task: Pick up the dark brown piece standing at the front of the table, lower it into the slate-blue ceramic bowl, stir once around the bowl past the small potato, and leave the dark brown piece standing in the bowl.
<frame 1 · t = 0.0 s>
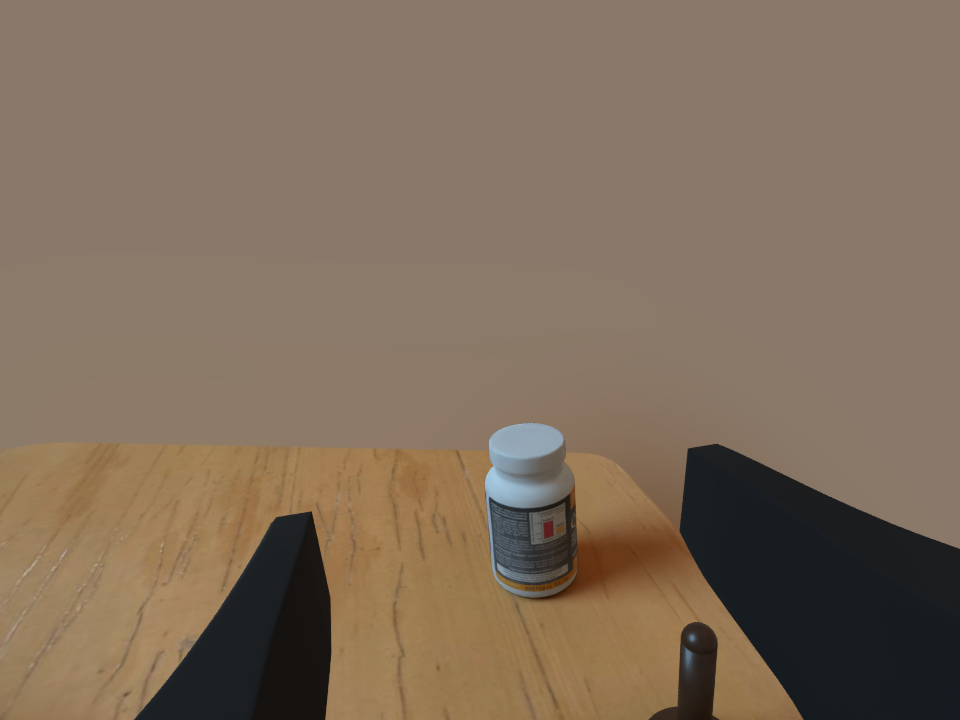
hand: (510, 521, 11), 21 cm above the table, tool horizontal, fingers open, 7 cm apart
pill bottle: (534, 574, 41), on the table
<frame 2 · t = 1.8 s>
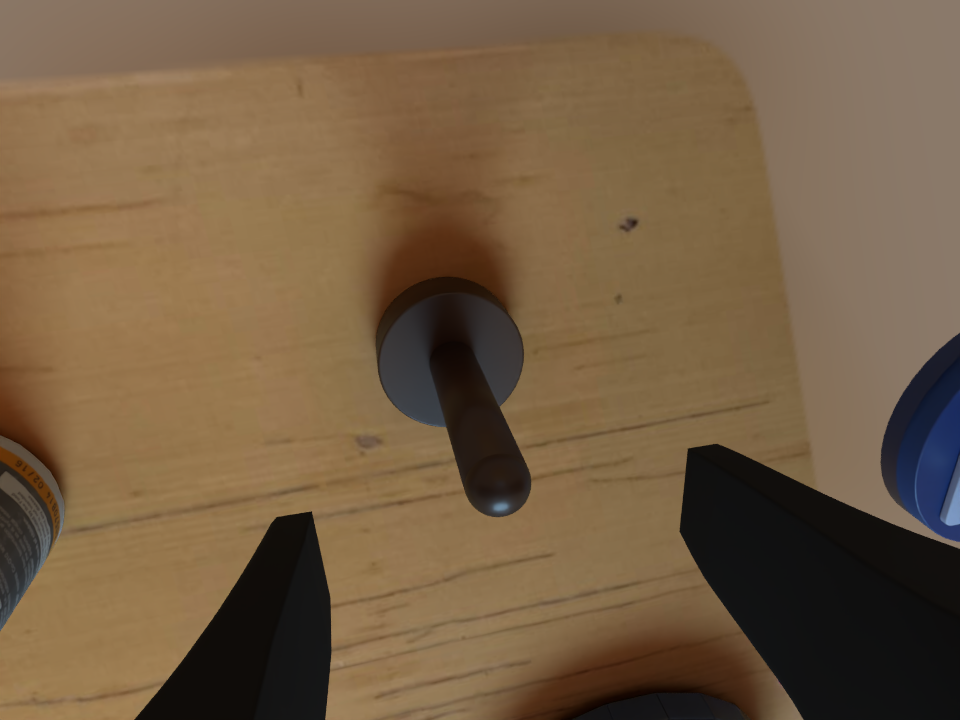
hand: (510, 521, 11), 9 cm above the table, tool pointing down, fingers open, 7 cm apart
dark brown piece: (445, 343, 20), on the table
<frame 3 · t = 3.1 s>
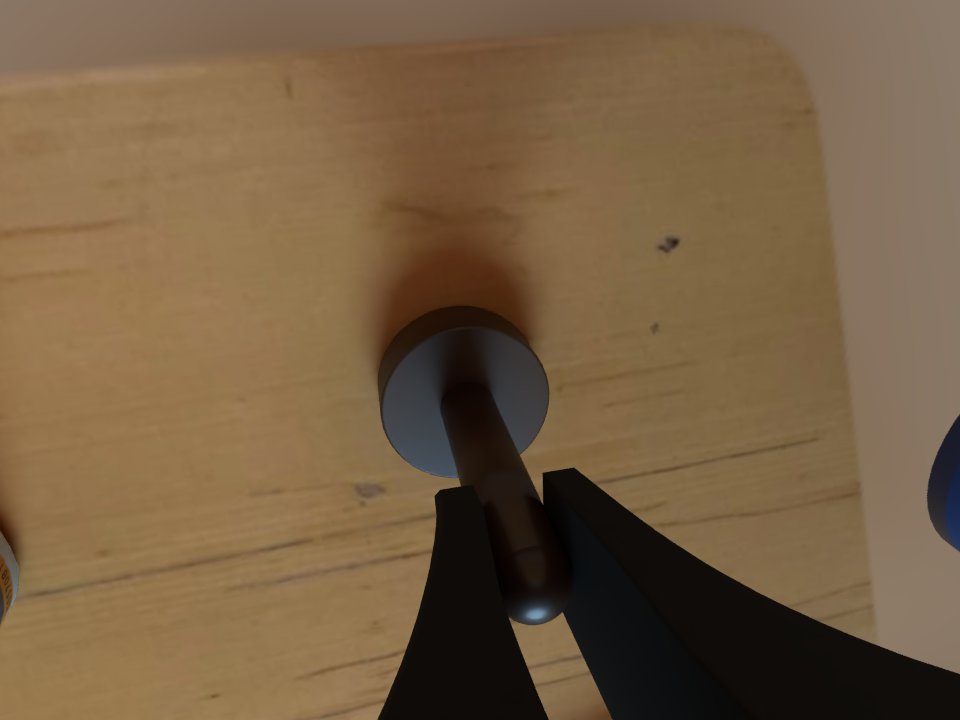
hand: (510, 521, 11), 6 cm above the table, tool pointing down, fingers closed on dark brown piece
dark brown piece: (457, 380, 17), on the table, touching gripper
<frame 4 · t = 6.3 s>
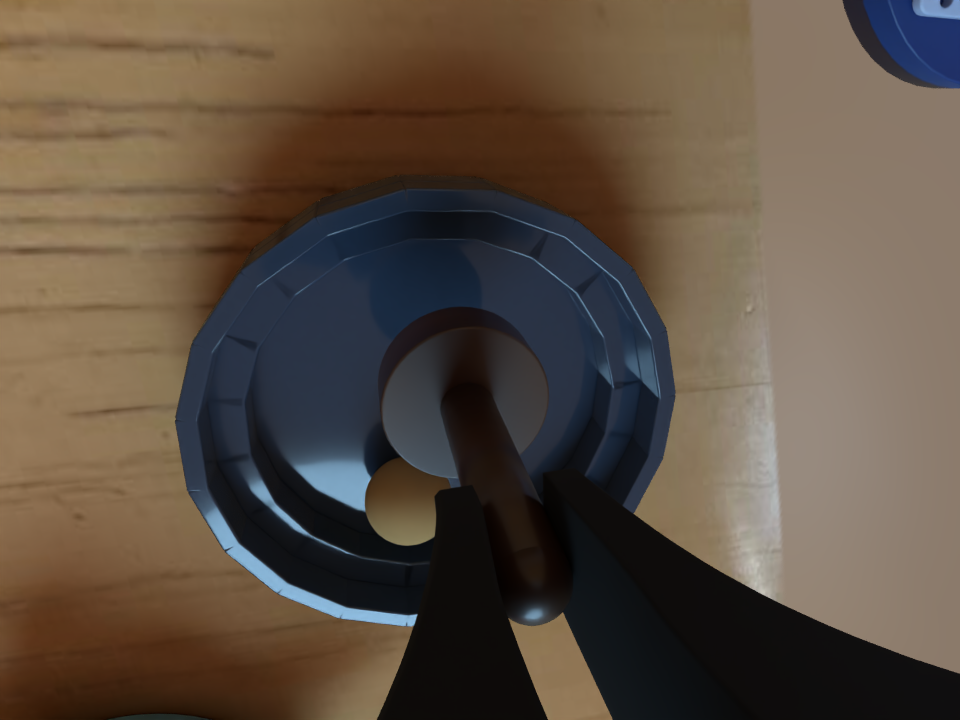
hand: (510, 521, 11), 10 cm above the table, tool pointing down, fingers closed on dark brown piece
serving bowl: (432, 394, 22), on the table
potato: (408, 500, 21), point 2 cm above the table, touching serving bowl
dark brown piece: (457, 380, 17), point 4 cm above the table, touching gripper
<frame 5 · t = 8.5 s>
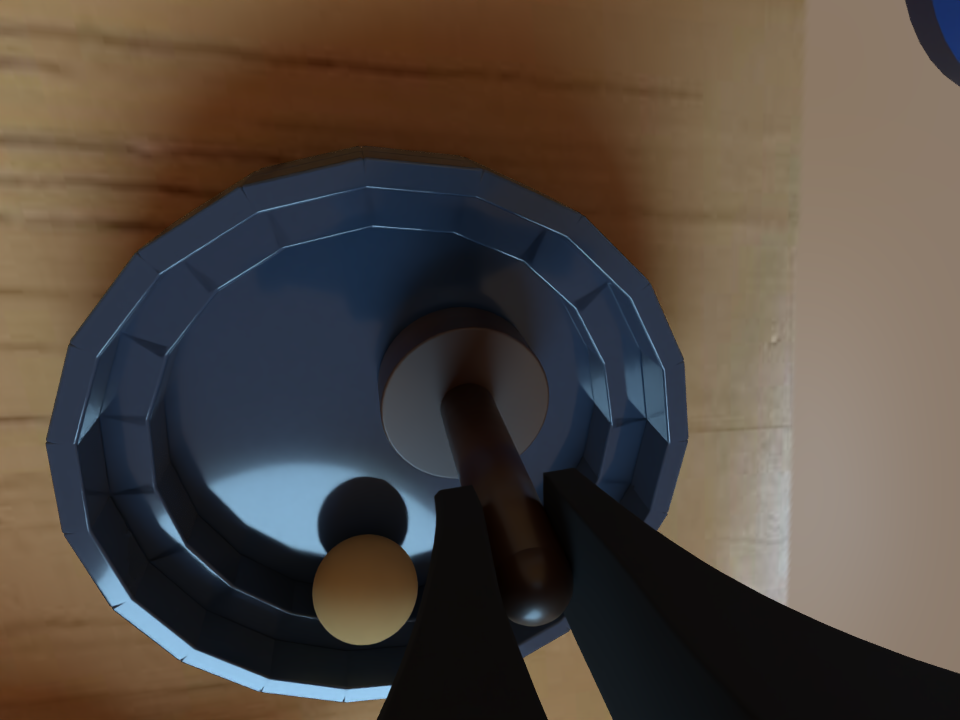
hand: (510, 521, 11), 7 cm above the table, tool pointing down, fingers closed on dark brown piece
serving bowl: (392, 420, 18), on the table
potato: (365, 588, 18), point 2 cm above the table, tilted 56°, touching serving bowl
dark brown piece: (457, 380, 17), point 1 cm above the table, touching gripper
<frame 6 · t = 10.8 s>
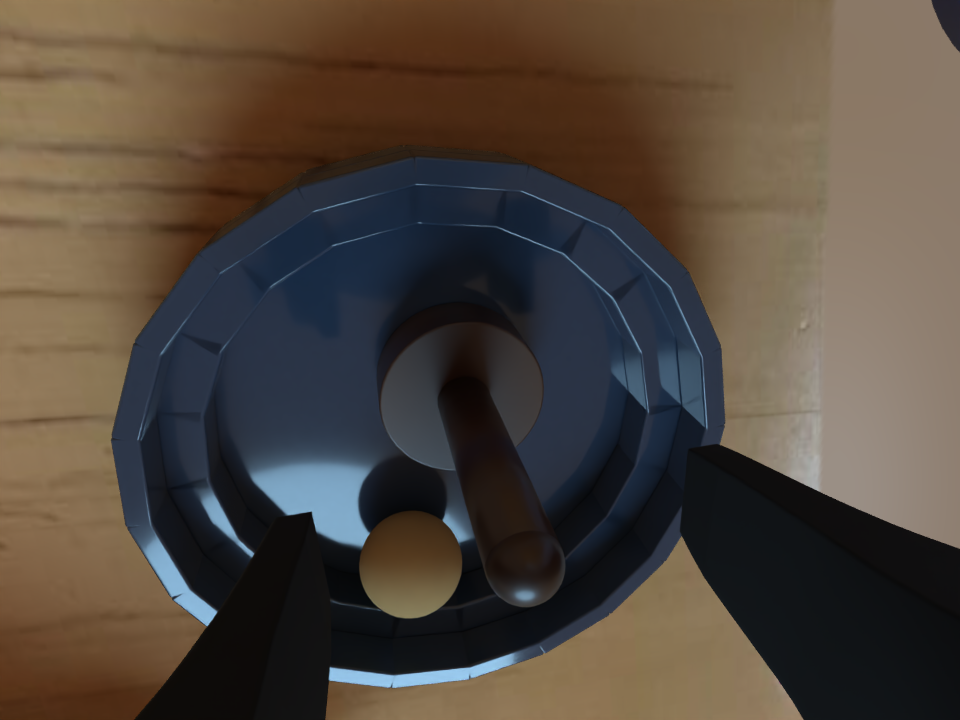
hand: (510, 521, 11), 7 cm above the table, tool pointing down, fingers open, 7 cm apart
serving bowl: (432, 412, 18), on the table
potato: (411, 563, 18), point 2 cm above the table, tilted 37°, touching serving bowl
dark brown piece: (454, 375, 17), resting on serving bowl
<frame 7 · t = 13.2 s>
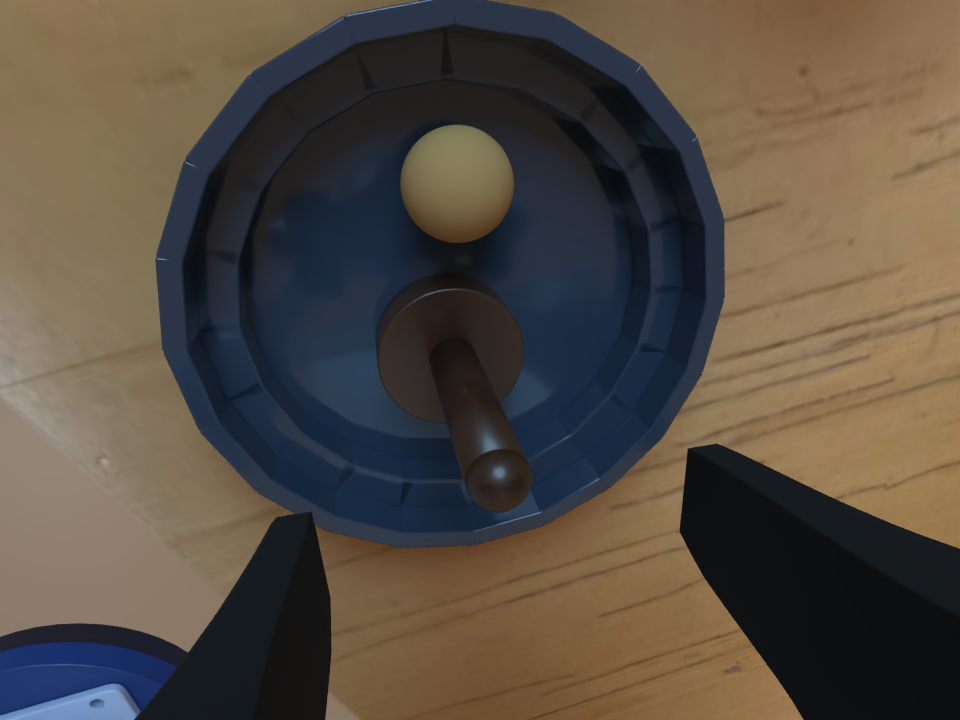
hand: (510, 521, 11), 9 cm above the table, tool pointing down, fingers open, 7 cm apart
serving bowl: (448, 288, 19), on the table
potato: (457, 185, 16), point 2 cm above the table, tilted 19°, touching serving bowl
dark brown piece: (445, 339, 19), resting on serving bowl
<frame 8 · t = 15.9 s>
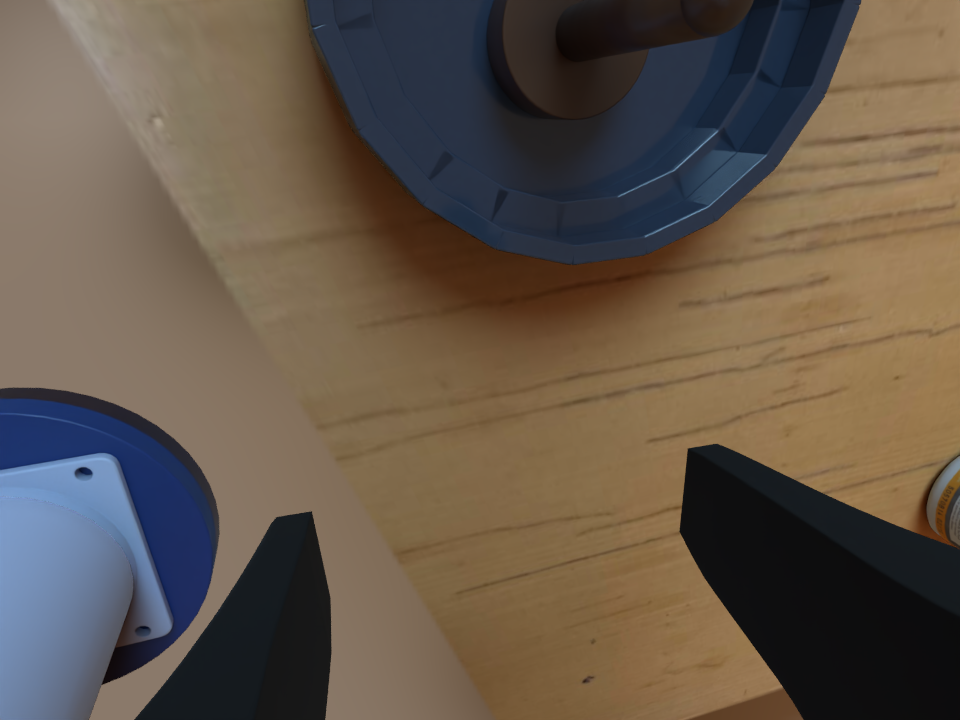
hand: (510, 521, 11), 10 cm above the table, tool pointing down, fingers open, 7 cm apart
dark brown piece: (557, 39, 18), resting on serving bowl
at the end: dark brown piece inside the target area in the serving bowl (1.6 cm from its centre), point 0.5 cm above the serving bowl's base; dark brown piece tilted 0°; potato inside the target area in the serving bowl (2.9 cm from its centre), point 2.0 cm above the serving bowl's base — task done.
